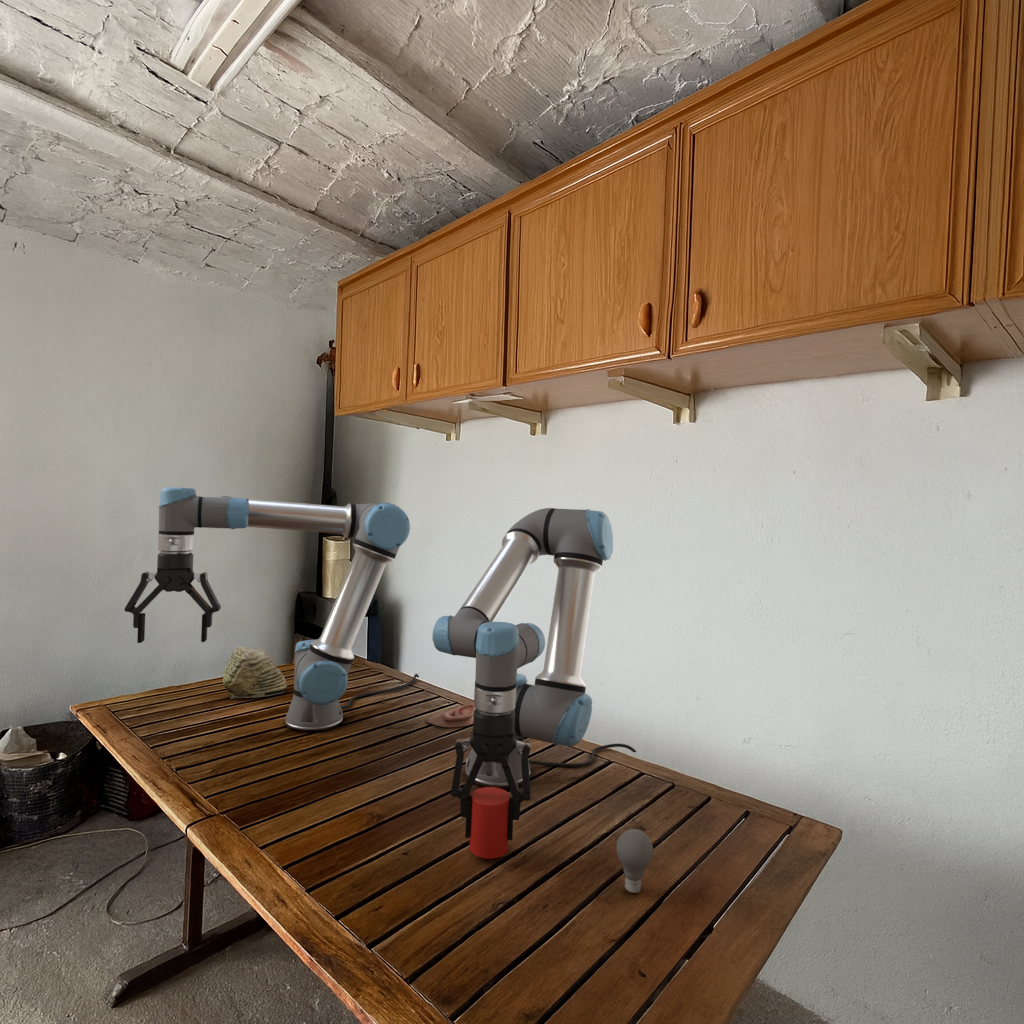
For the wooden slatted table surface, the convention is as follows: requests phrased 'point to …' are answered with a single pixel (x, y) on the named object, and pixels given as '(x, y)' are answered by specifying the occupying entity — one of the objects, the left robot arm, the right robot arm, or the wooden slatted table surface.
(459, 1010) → the wooden slatted table surface
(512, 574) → the right robot arm
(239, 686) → the fossil
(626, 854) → the light bulb
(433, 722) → the anatomical model
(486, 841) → the cylinder
